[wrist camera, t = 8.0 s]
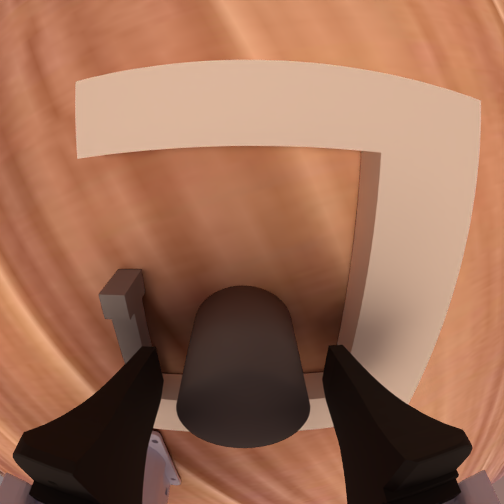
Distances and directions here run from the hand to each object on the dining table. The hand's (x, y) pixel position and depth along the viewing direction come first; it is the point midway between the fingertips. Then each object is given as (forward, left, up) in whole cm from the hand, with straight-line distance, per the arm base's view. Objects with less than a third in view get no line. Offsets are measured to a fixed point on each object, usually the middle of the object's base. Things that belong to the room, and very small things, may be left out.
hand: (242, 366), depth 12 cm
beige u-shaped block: (+2, -2, -3) cm, 4 cm away
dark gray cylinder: (0, 0, -3) cm, 3 cm away
